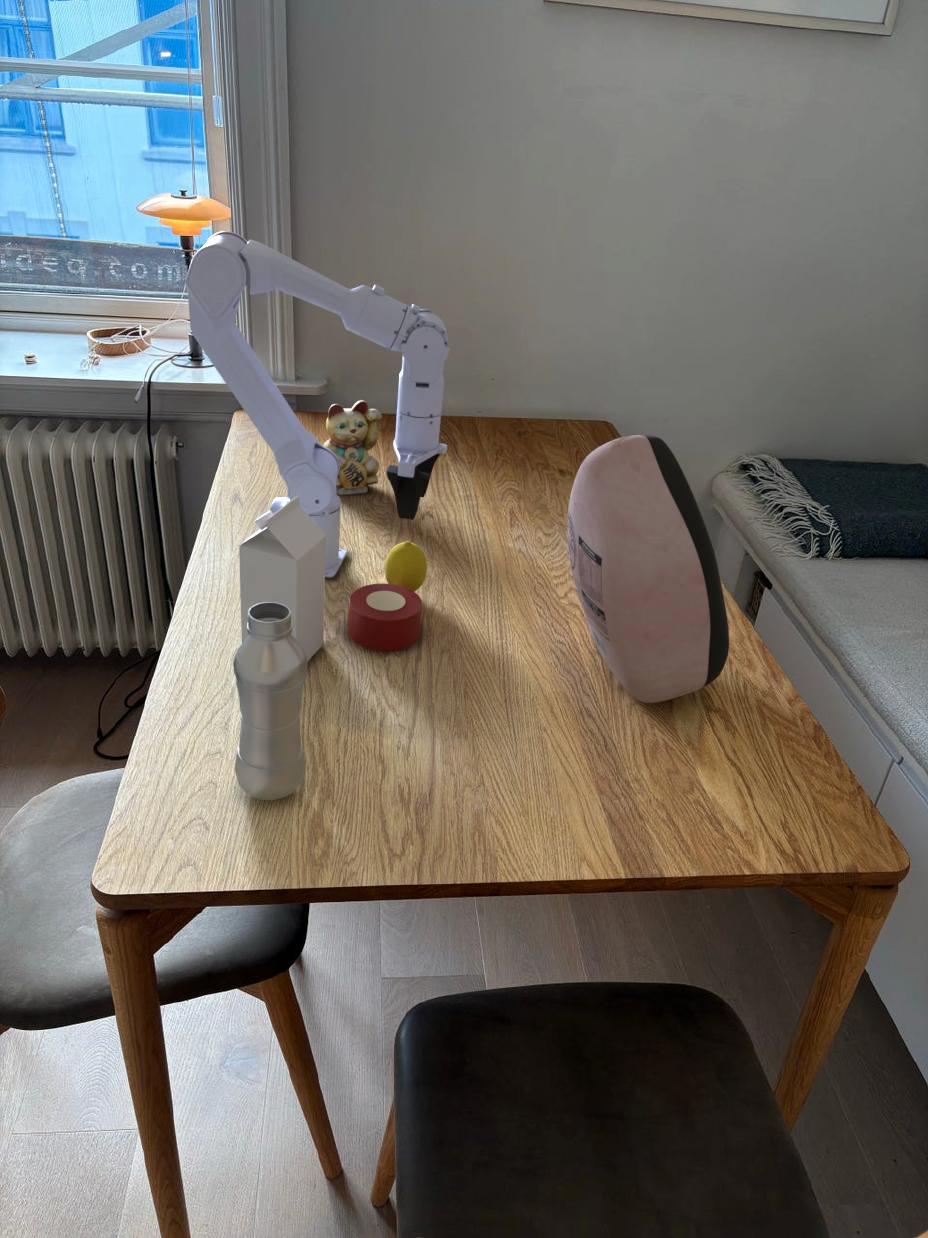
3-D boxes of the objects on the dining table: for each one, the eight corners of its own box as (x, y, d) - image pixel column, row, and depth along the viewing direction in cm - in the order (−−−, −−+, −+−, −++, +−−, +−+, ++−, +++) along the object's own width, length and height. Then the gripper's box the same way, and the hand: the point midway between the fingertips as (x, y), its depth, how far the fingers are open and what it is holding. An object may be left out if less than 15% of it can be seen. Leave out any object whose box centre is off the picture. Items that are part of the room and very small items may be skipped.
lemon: (378, 600, 126) (381, 547, 122) (389, 581, 130) (393, 529, 126) (419, 608, 125) (423, 554, 121) (428, 588, 130) (433, 536, 126)
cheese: (339, 645, 116) (341, 612, 113) (357, 608, 123) (358, 577, 121) (412, 656, 115) (414, 624, 113) (425, 619, 123) (428, 588, 120)
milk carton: (323, 645, 115) (327, 502, 106) (296, 675, 109) (297, 526, 100) (271, 630, 117) (270, 488, 107) (241, 659, 111) (237, 511, 101)
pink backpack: (735, 724, 110) (809, 483, 94) (573, 728, 106) (621, 479, 90) (670, 623, 128) (722, 409, 113) (529, 624, 124) (563, 402, 109)
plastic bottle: (239, 764, 95) (233, 592, 85) (307, 765, 96) (310, 595, 86) (231, 809, 90) (224, 630, 80) (303, 809, 91) (306, 633, 80)
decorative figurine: (329, 500, 151) (331, 408, 143) (309, 479, 157) (311, 391, 149) (384, 492, 155) (389, 403, 148) (363, 473, 161) (367, 387, 154)
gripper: (440, 433, 116) (431, 533, 123) (457, 397, 128) (448, 490, 135) (384, 425, 117) (378, 525, 124) (406, 390, 129) (400, 483, 136)
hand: (411, 506), depth 130 cm, fingers open, 7 cm apart
